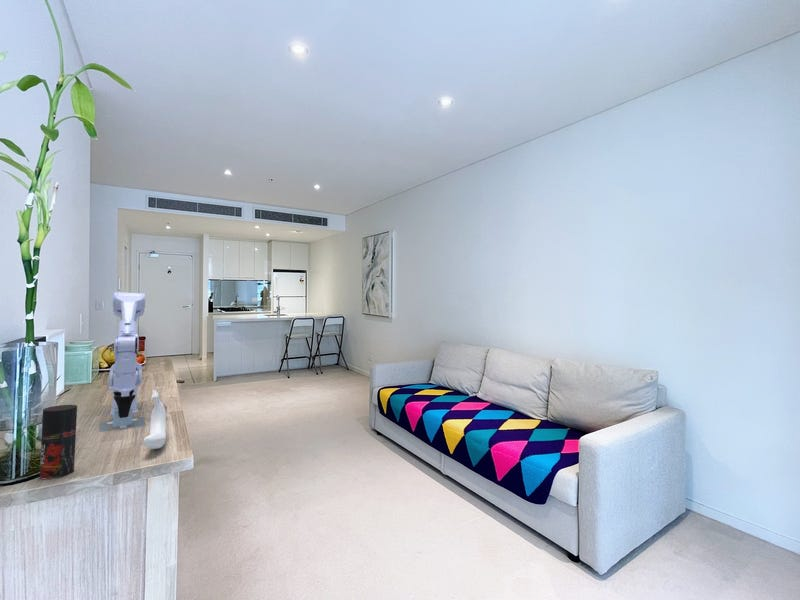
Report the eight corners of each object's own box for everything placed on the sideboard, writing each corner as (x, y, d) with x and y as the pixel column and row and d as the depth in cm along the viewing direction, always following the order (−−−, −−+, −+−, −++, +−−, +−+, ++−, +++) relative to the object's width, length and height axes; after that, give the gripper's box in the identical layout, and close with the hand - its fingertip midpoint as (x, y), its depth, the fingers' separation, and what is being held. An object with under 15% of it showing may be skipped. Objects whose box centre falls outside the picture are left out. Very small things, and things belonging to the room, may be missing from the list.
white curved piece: (141, 460, 96) (144, 402, 97) (147, 438, 113) (149, 388, 113) (164, 457, 99) (167, 400, 99) (166, 436, 115) (168, 387, 116)
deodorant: (80, 469, 91) (84, 405, 91) (55, 480, 85) (59, 411, 85) (58, 467, 91) (61, 404, 92) (31, 478, 85) (35, 410, 86)
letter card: (99, 423, 126) (99, 422, 126) (143, 418, 133) (143, 416, 133) (99, 433, 116) (99, 431, 116) (146, 427, 123) (146, 425, 123)
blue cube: (112, 423, 125) (113, 407, 125) (131, 420, 128) (131, 405, 128) (113, 427, 121) (113, 411, 121) (132, 424, 124) (132, 409, 124)
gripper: (109, 370, 128) (107, 411, 128) (110, 377, 117) (107, 422, 116) (135, 369, 133) (133, 408, 132) (138, 375, 121) (136, 418, 121)
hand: (123, 414), depth 125 cm, fingers open, 6 cm apart
